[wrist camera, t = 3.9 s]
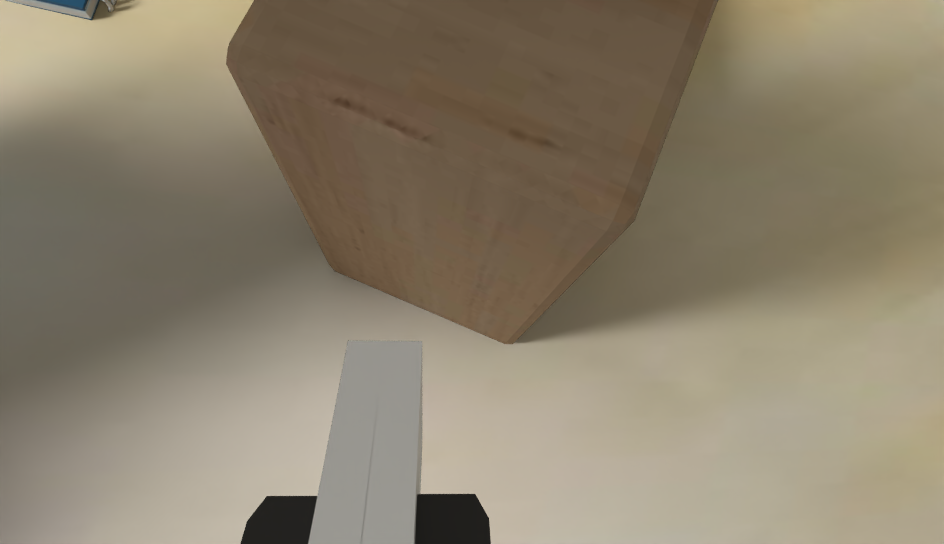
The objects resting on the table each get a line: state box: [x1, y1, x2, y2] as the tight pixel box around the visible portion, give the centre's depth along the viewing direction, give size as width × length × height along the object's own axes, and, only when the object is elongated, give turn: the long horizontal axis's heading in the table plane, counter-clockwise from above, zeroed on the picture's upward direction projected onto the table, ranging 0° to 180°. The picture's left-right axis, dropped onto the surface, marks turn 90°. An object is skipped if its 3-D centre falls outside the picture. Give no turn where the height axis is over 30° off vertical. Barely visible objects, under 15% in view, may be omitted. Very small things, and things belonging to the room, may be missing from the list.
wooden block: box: [226, 0, 718, 344], centre depth 26 cm, size 10×10×20 cm
